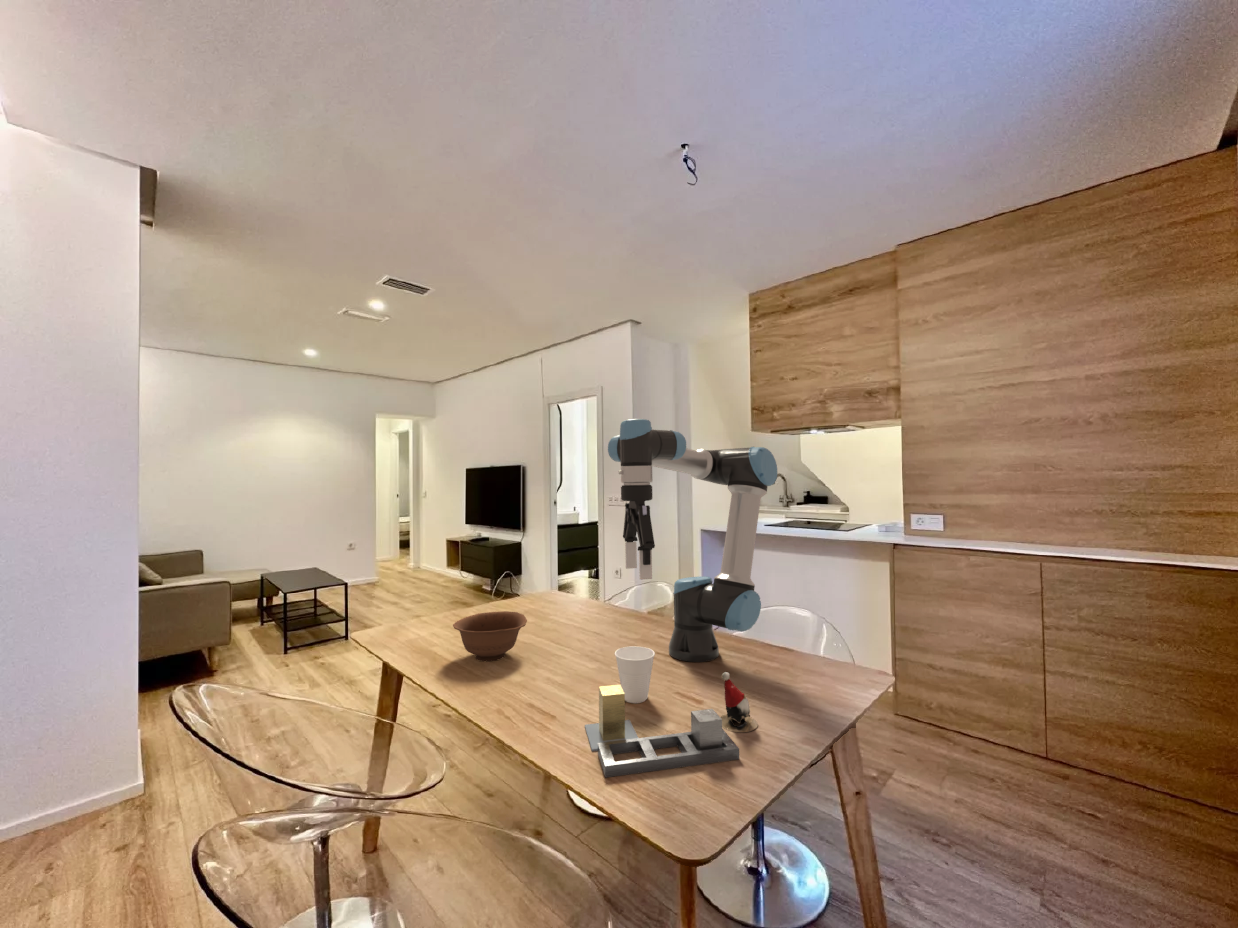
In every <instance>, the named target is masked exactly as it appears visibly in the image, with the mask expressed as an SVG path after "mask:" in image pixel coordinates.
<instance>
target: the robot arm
mask: <svg viewBox="0 0 1238 928" xmlns="http://www.w3.org/2000/svg"><path fill="white" fill-rule="evenodd" d="M607 453H608V456H609V457H610V459H611V460H613V461H614V462H615V463H617V462H618V463H620V470H618V474H619V475H620V482H621V483H622V485H621V486H620V499H621V501H623V502H626V503H625V505H624V507H625V509H624V511H625V513H624V522H623V532H622V537H623V539H624V542H625V544H624V546H625V547H624V548H625V549H624V550H625V551H624V552H625V554H624V555H625V569H627V570H629V569H638V565H639V580H652V579H653V560H652V559H653V558H652V556H653V555H652V550H653V549H655V547H656V545H655V539H654V533H653V532H654V530H653V525H652V519H651V507H650V505H646V501H647V502H649V501H652V500H653V486H652V485H651V483H653V467H654V468H660V469H663V470H669V471H673V472H678V473H684V474H686V475H687V474H688V475H690V476H691V477H692V478H694V479H697V480H701V481H704V482H709V483H712V484H716V485H721V486H727V490H728V491H729V493H730V494H731V497H730V504H729V510H728V518H727V526H726V531H725V539H724V545H723V546H724V547H723V552H722V559H721V566H720V572H719V573H718V574H717V575H715V576H714V577H713V579H712V577H710V576H691V577H682V578H679V579H676V581H675V582H674V585H673V618H674V619H673V620H674V623H673V624H674V626H673V630H672V634H671V637H670V640H669V644H668V654H669V655H670V657H672V658H674V659H676V660H679V661H684V662H688V663H689V662H691V663H704V662H710V661H713V660H715V659H717V658H718V657H719V655H720V654H719V649H720V648H719V645H718V642H717V638H716V636H715V632H714V629H713V626H716V627H720V628H723V629H727V630H729V631H737V632H743V633H744V632H748V631H749V630H751V629H752V628H753V626H754V625H755V624H756V623H757V622H758V619H759V616H760V613H761V608H762V602H761V601H762V600H761V597H760V595H759V593H757V592H756V591H755V587H756V586H755V583H754V582H753V580H752V579H751V575H752V569H753V568H752V567H753V559H754V551H755V545H756V544H755V543H756V539H757V538H756V537H757V529H758V523H759V514H760V506H761V499H762V497H764V496H766V495H767V494H768V487H771V486H773V485H774V484H775V483H776V481H777V479H778V464H777V461H776V459H775V456H774V455H773V453H772V452H771V450H769V449H768V448H766V447H761V446H756V447H755V446H751V447H738V448H737V447H736V448H723V449H714V450H713V449H710V450H709V449H704V448H700V449H697V450H694V449H691V448H688V447H687V440H686V438H685V436H684V435H683V433H681V432H680V431H675V430H672V429H670V430H667V429H666V430H665V429H653V427H652V422H651V420H649V419H645V418H632V419H631V418H630V419H625V420H622V421H621V423H620V427H619V434H618V435H614V436H612V437H611V438H610V440H609V441H608V444H607ZM637 542H638V543H639V546H638V547H637ZM637 551H638V553H637ZM638 554H639V555H638ZM637 557H638V558H639V559H637ZM638 561H639V562H638Z"/></svg>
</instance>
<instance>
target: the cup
mask: <svg viewBox="0 0 1238 928" xmlns="http://www.w3.org/2000/svg"><path fill="white" fill-rule="evenodd" d="M655 655H656V652H655V651H654V650H653V649H652V648H649V647H645V646H638V645H637V646H635V645H632V646H631V645H630V646H624V647H619V648H618V649H616V650H615V652H614V656H615V660H616V664H617V671H618V677H619V682H620V684H619V685H620V686H621V688H622V689H623V691H624V693H625V702H627V703H629V704H630V703H631V704H640V703H641V704H642V703H643V702H646V700H647V699H648V696H649V691H650V683H651V678H652V677H651V676H652V670H653V664H654V657H655Z"/></svg>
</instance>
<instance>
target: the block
mask: <svg viewBox="0 0 1238 928" xmlns="http://www.w3.org/2000/svg"><path fill="white" fill-rule="evenodd" d="M720 717H721V716H720V715H719V714H718V713H717V712H716V711H715V709H713V708H708V709H699V710H691V711H690V724H691V725H690V727H691V728H690V732H691V742H692V743H693V745H694V746H695V748H696V749H697V751H701V750H709V749H716V748H722V729H723V727H722V719H721V718H720Z"/></svg>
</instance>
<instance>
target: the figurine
mask: <svg viewBox="0 0 1238 928" xmlns="http://www.w3.org/2000/svg"><path fill="white" fill-rule="evenodd" d="M721 679H722V680H723V681H724V682H723V683H724V684H723V686H724V701H725V703H724V704H725V710H726V714H722V715H721V716H719V717H720V718H721V719H722V729H723V730H724V729H725V730H727V731H730V732H733V733H740V734H741V733H749V732H752V731H755V729H757V728H758V725H759V724H758V721H757V720H756V719H755V718H753V717H751V715H750V714H751V710H750V702H749V699H748V698H747V696H746V695H745V693H743V692H742V691H741V690H740V689H739V688H738V687H737V686H736V685H735V684H734V682H732V680H731V678H730V673H729V672H726V671H725V672H723V673H722V674H721ZM733 720H734V721H736V722H737V723H738V724H740V723H741V721H742V720H743V721H744V723H743V724H740V725H736V724H735V723H734V722H733Z"/></svg>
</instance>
